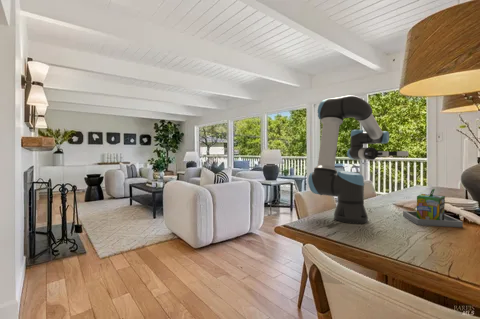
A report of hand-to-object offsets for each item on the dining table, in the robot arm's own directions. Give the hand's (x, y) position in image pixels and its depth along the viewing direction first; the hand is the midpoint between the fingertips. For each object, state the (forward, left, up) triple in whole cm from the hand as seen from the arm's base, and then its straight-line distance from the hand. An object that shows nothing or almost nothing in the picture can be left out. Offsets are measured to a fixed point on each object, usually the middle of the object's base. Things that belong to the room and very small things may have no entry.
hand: (398, 153), depth 134 cm
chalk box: (+8, -16, -32) cm, 36 cm away
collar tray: (+8, -16, -32) cm, 37 cm away
